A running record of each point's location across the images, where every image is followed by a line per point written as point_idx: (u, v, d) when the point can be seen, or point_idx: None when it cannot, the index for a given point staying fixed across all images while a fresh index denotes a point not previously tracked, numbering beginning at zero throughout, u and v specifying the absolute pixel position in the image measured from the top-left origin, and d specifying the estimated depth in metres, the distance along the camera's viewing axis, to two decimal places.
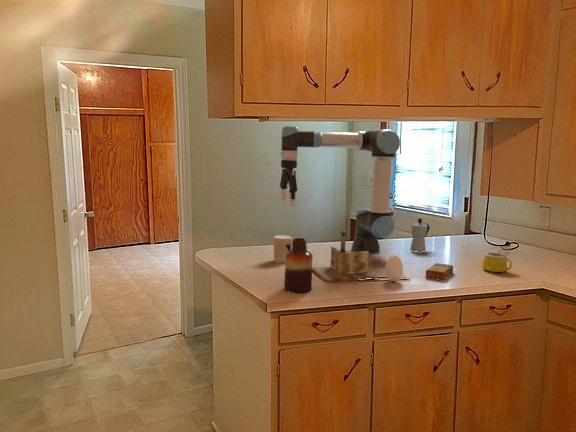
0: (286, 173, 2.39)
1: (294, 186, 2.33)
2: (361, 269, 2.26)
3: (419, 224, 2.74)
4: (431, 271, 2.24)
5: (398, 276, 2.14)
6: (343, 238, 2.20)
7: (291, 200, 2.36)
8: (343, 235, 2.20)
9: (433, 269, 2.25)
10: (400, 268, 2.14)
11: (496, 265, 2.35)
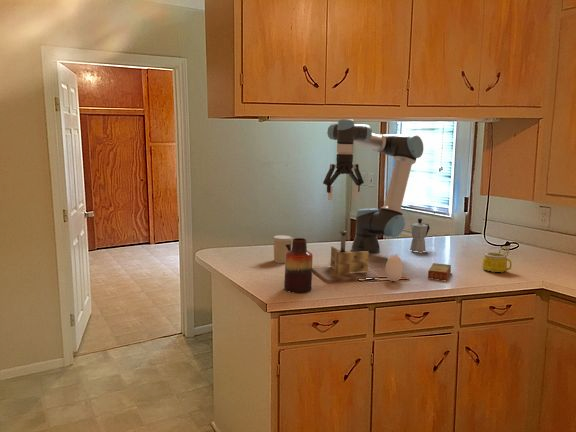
0: None
1: (325, 179, 2.32)
2: (361, 269, 2.26)
3: (419, 224, 2.74)
4: (433, 271, 2.23)
5: (398, 276, 2.14)
6: (343, 238, 2.20)
7: (329, 193, 2.34)
8: (343, 235, 2.20)
9: (435, 269, 2.25)
10: (400, 268, 2.14)
11: (496, 265, 2.35)
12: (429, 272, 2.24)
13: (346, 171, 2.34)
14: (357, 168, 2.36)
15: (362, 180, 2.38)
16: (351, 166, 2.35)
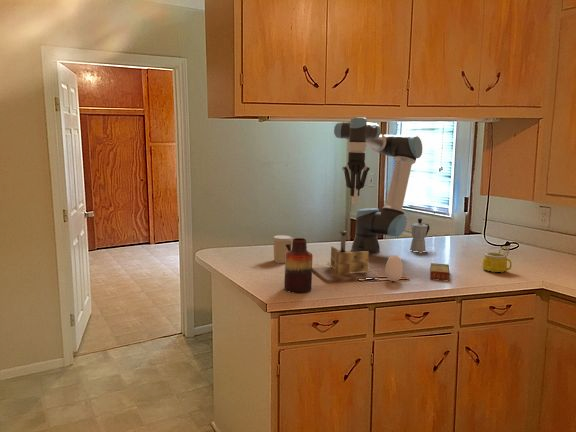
0: None
1: (347, 183, 2.33)
2: (361, 269, 2.26)
3: (419, 224, 2.74)
4: (436, 272, 2.22)
5: (398, 276, 2.14)
6: (343, 238, 2.20)
7: (352, 197, 2.35)
8: (343, 235, 2.20)
9: (437, 270, 2.24)
10: (400, 268, 2.14)
11: (496, 265, 2.35)
12: (431, 272, 2.23)
13: (358, 170, 2.32)
14: (366, 171, 2.34)
15: (363, 184, 2.34)
16: (363, 165, 2.33)
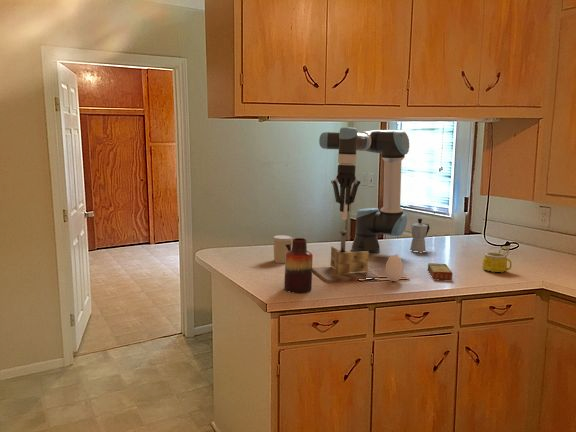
0: None
1: (336, 198, 2.17)
2: (361, 269, 2.26)
3: (419, 224, 2.74)
4: (439, 272, 2.22)
5: (398, 276, 2.14)
6: (343, 238, 2.20)
7: (342, 212, 2.20)
8: (343, 235, 2.20)
9: (439, 270, 2.24)
10: (400, 268, 2.14)
11: (496, 265, 2.35)
12: (434, 273, 2.22)
13: (348, 183, 2.17)
14: (357, 185, 2.18)
15: (353, 199, 2.18)
16: (353, 178, 2.17)
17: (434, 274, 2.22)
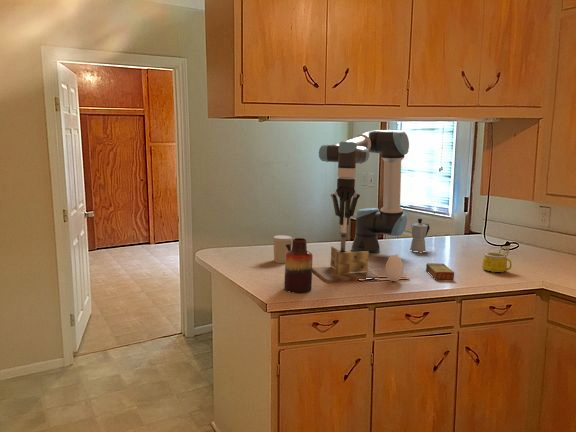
0: None
1: (336, 211, 2.18)
2: (361, 269, 2.26)
3: (419, 224, 2.74)
4: (441, 272, 2.22)
5: (398, 276, 2.14)
6: (343, 240, 2.20)
7: (341, 226, 2.21)
8: (343, 237, 2.20)
9: (440, 270, 2.24)
10: (400, 268, 2.14)
11: (496, 265, 2.35)
12: (437, 273, 2.22)
13: (347, 197, 2.18)
14: (356, 198, 2.19)
15: (353, 212, 2.19)
16: (353, 192, 2.18)
17: (436, 274, 2.22)
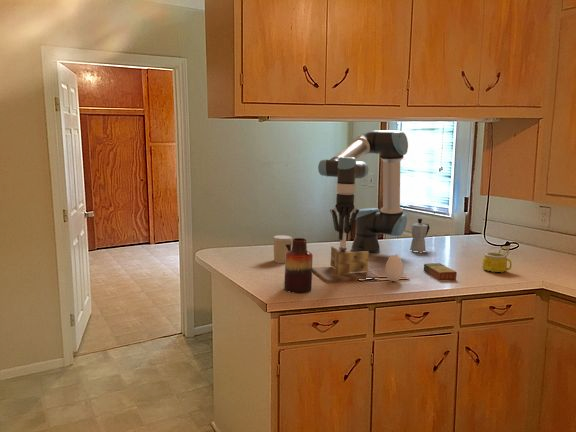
0: None
1: (335, 226, 2.19)
2: (361, 269, 2.26)
3: (419, 224, 2.74)
4: (444, 273, 2.21)
5: (398, 276, 2.14)
6: None
7: (341, 241, 2.22)
8: None
9: (443, 270, 2.23)
10: (400, 268, 2.14)
11: (496, 265, 2.35)
12: (440, 274, 2.21)
13: (346, 212, 2.19)
14: (356, 213, 2.20)
15: (352, 227, 2.20)
16: (352, 207, 2.19)
17: (440, 275, 2.21)
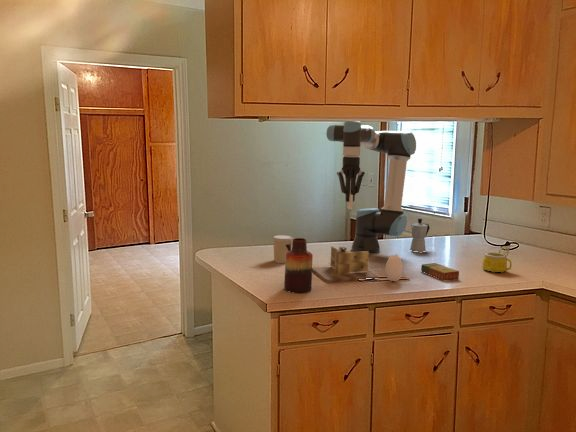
0: None
1: (342, 188, 2.27)
2: (361, 269, 2.26)
3: (419, 224, 2.74)
4: (448, 273, 2.22)
5: (398, 276, 2.14)
6: None
7: (347, 202, 2.29)
8: None
9: (446, 270, 2.23)
10: (400, 268, 2.14)
11: (496, 265, 2.35)
12: (445, 274, 2.21)
13: (353, 174, 2.26)
14: (361, 175, 2.27)
15: (358, 189, 2.28)
16: (358, 169, 2.26)
17: (445, 275, 2.21)
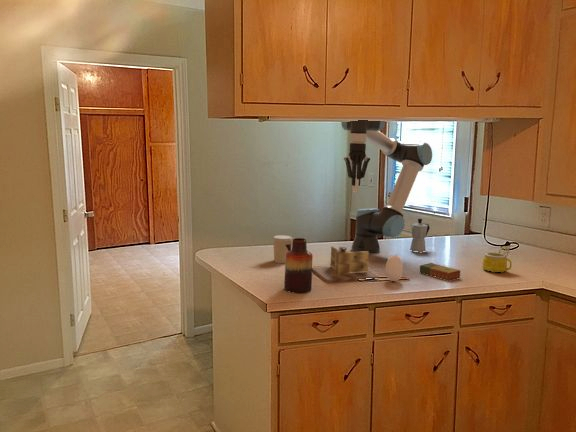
0: None
1: (348, 173, 2.41)
2: (361, 269, 2.26)
3: (419, 224, 2.74)
4: (452, 272, 2.22)
5: (398, 276, 2.14)
6: None
7: (353, 186, 2.44)
8: None
9: (449, 270, 2.24)
10: (400, 268, 2.14)
11: (496, 265, 2.35)
12: (449, 274, 2.21)
13: (359, 160, 2.40)
14: (367, 161, 2.42)
15: (364, 174, 2.42)
16: (364, 155, 2.41)
17: (449, 275, 2.21)
